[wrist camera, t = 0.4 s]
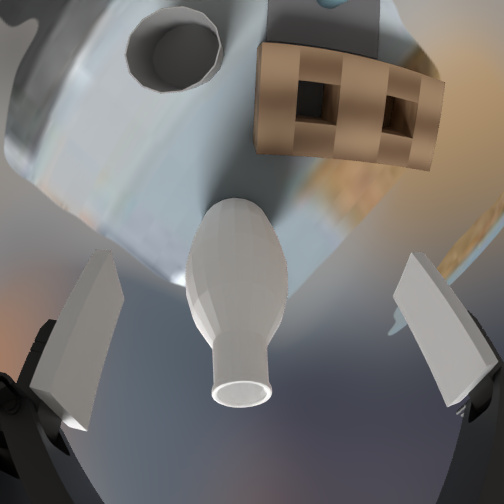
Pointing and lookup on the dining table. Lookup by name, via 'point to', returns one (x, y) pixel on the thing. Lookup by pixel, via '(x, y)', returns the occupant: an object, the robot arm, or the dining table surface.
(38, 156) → the dining table surface
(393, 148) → the block
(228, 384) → the bottle
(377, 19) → the mat
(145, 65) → the cup
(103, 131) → the dining table surface
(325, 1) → the peg
